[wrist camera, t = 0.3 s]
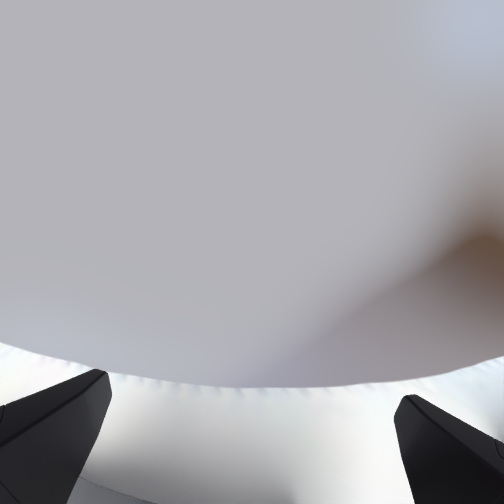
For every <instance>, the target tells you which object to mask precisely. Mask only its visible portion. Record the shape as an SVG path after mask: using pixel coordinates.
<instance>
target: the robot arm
mask: <svg viewBox="0 0 504 504" xmlns="http://www.w3.org/2000/svg"><path fill="white" fill-rule="evenodd" d="M111 398H112V390H111V385H110V380H109V376H108V373H107V372H106V371H103V370H99V369H93V370H90V371H88V372H85V373H83V374H81V375H78V376H76V377H74V378H71V379H69V380H66V381H64V382H62V383H59V384H57V385H54V386H52V387H49V388H47V389H44V390H42V391H39V392H37V393H34V394H32V395H29V396H26V397H24V398H21V399H19V400H16V401H13V402H11V403H8V404H6V406H5V405H3V406H0V504H67V502H68V499H69V497H70V495H71V493H72V490H73V488H74V486H75V484H76V482H77V479H78V477H79V475H80V473H81V471H82V469H83V466H84V464H85V462H86V460H87V458H88V456H89V454H90V452H91V450H92V448H93V446H94V444H95V441H96V439H97V437H98V435H99V432H100V429H101V426H102V423H103V421H104V418H105V415H106V412H107V409H108V407H109V404H110V401H111ZM394 423H395V428H396V433H397V438H398V443H399V448H400V453H401V457H402V461H403V464H404V468H405V471H406V474H407V478H408V481H409V484H410V488H411V491H412V495H413V499H414V502H415V504H504V443H502V442H500V441H498V440H497V439H494V438H493V437H491V436H489V435H487V434H485V433H483V432H482V431H480V430H478V429H476V428H474V427H472V426H471V425H469V424H467V423H465V422H463V421H461V420H460V419H458V418H456V417H454V416H453V415H451V414H449V413H447V412H445V411H444V410H442V409H440V408H438V407H437V406H435V405H433V404H431V403H430V402H428V401H426V400H425V399H423V398H421V397H419V396H418V395H415V394H413V395H406V396H404V397H403V398H402V400H401V402H400V404H399V406H398V408H397V410H396V412H395V415H394Z"/></svg>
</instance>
